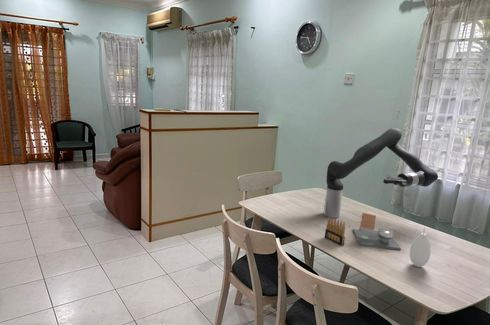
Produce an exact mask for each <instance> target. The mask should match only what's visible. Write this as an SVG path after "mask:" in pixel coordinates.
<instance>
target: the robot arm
mask: <svg viewBox="0 0 490 325" xmlns="http://www.w3.org/2000/svg"><path fill="white" fill-rule="evenodd" d="M402 135H403V134H402V131H401V129H399V128H396V127H393V128H391V127H390V128H388V129H387V130H386V131H385V132H383V133H382V134H381V135H379V136H378V137H376V138H375V139H373V140H370V141H369V142H368V143H366V144H364V145H363V146H360V147H359V148H357V149H356V150H355V152H354V154H353V156H352V157H351V158H350V159H349V160H347V161H345V162H339V161H338V160H333V161H331V162H330V163H329V164H328V166H327V170H326V171H327V172H326V193H325V194H326V195H325V198H324V204H323V211H322V213H323V217H325V218H329V216H330V219H332V217H333V219H339V218H340V214H341V207H342V202H343V201H342V200H343V199H342V198H343V192H344V183H342V181H341V179H343V180H344V178H347V177H348V176H349V175H350V174H351V173H353V172H354V171H356V169H358V168H359V167H361V166H363V165H364V164H365V163H368V162H369V161H371V160H373V159H374V158H375V157H376V156H378V155H379V154H380V153H381V152H382V151H383V150H384V149H385V148H388V149H389V150H390V151H391V152H393V153H394V154H395V155H397V157H399V158H400V159H401V160H402V161H403V162H404V163H405V164H406V165H407V166H408V167H409V169H410V170H412V172H403V173H402V172H401V173H398V175H395V176H391V175H387V176H386V178H385V179H383V184H390V185H394V186H399V187H401V188H405V187H414V186H420V187H424V188H425V187H429V186H430V185H432V184H433V183H434V182H436V181H437V180H438V179H439V176H438V173H437V172H436V171H435V170H434V169H432V168H430V167H429V166H428V165H426V164H424V162H423V161H422V160H421V159H420V158H419V157H418V156H417V155H415V154H414V153H412V152H410V151H407V150H406V148H405V149H404V148H403V147H402V146H401V145H400V144H399V142H400V141H401V139H402ZM421 172H422V173H421Z"/></svg>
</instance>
